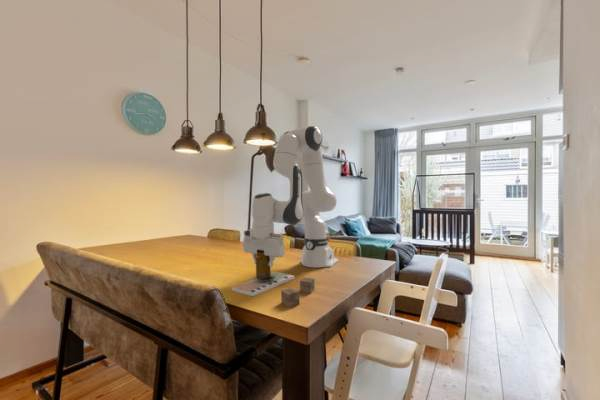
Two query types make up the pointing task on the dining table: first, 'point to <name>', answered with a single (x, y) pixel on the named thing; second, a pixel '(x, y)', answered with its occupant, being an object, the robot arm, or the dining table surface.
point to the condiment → (263, 267)
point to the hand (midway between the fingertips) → (263, 265)
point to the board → (262, 284)
